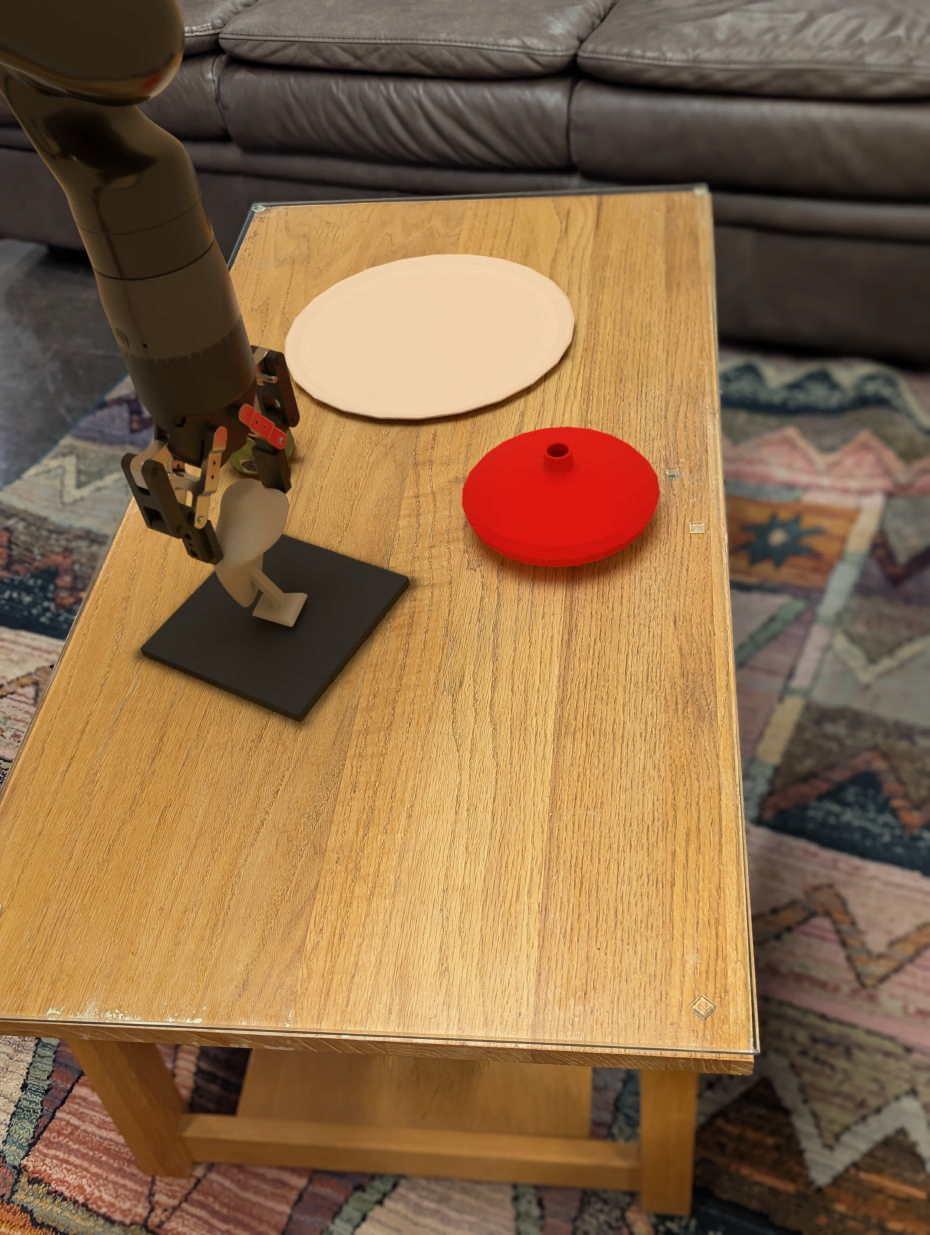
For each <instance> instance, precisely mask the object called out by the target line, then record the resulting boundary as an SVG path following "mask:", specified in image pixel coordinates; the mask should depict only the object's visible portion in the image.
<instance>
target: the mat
mask: <svg viewBox="0 0 930 1235" xmlns="http://www.w3.org/2000/svg"><path fill="white" fill-rule="evenodd" d="M262 573H264V574H265V575H266V576H267V577H268V578H269V579H270V580H271V581H272V582H273V583H274V584H275V585H276V586H277V587H278V588H279V589H280V590H281V591H282V592H283V593H304V594H307V598H306V600H305V602H304V604H303V606H302V608H301V610H300V613H299V615H298V617H297V619H296V621H295V623H294V625H293V626H292V627H290V626H286V625H283V624H279V623H276V622H273V621H269V620H266V619H263V618H259V617H256V616H253V612H254V609H255V608H256V606H257V604H258V602H259V600H260V598H261V596H262V595H263V594H264V593H263V592H262V591H261V590H260V589H259V588H258V592H257V594H256V597H255V599H254V601H253V603H252V604H251V605H250V606H249V607H243V606H241V605H240V604H239V603H238V602H237V601H236V600H235V599H234V598H233V597H232V596H231V595H230V594H229V592H228V591H227V590H226V589H225V587H224V586H223V584H222V583H221V581H220V580H219V578H218V576H217V574H216V572H215V570H213V571H212V572H211V574H210V575H209V576H207V578H206V579H205V580H204V581H203V582H202V583H201V584H200V585H199V586H198V587H197V588H196V590H194V591H193V592H192V594H190V596H189V597H188V598H187V599H186V600H185V601H184V602H183V603H182V604H181V605H180V606H179V607H178V608H177V609H176V610H175V611H174V612H173V613H172V614H171V615H170V616H169V618H167V619H166V620H165V621H164V622H163V623H162V625H160V626H159V627H158V629H157V630H156V631H155V632H154V633H153V634H152V635H151V636H150V637H149V638H148V639H147V641H145V643H143V644H142V645H141V647H140V648H139V650H140V652H141V654H142V655H143V656H144V657H147V658H149V659H152V660H154V661H157V662H159V663H161V664H164V665H166V666H168V667H170V668H173V669H174V670H178V671H180V672H182V673H185V674H187V675H190V676H192V677H195V678H197V679H199V680H200V681H204V682H206V683H209V684H211V685H213V686H215V687H218V688H220V689H222V690H225V691H227V692H230V693H232V694H235V695H236V696H239V697H242V698H243V699H246V700H249V701H251V702H252V703H256V704H258V705H260V706H262V707H264V708H268V709H269V710H272V711H275V712H277V713H279V714H281V715H284V716H286V717H288V718H291V719H293V720H296V721H297V722H301V721H302V720H303V718H304V717H305V716H306V715H307V714H308V713H309V711H310V710H311V708H312V707H313V706H314V705H315V703H316V702H317V701H318V700H319V699H320V697H321V696H322V695H323V694H324V692H325V691H326V690H327V689H328V687H329V686H330V685H331V683H332V682H333V681H334V680H335V678H336V677H337V676H338V675H339V674H340V672H341V671H342V670H343V668H344V667H345V666H346V664H347V663H348V662H349V661H350V660H351V658H353V656H354V655H355V653H356V652H357V651H358V650H359V648H360V647H361V646H362V644H364V643H365V641H366V640H367V638H368V637H369V636H370V635H371V634H372V633H373V630H375V629H376V627H377V626H378V625H379V624H380V622H381V621H382V619H383V618H384V617H385V616H386V615H387V613H388V612H389V611H390V609H391V608H392V607H393V605H395V603H397V601H398V600H399V598H400V597H401V596H402V595H403V593H404V592H405V591H406V589H407V588H408V587H409V585H410V584H411V582H410V578H409V576H406V575H404V574H401V573H399V572H395V571H393V570H389V569H387V568H383V567H380V566H377V565H375V564H371V563H369V562H366V561H363V560H359V559H357V558H354V557H351V556H348V555H345V554H342V553H340V552H336V551H333V550H331V549H328V548H325V547H322V546H318V545H316V544H312V543H310V542H307V541H305V540H304V541H303V540H301V539H298V538H295V537H292V536H290V535H287V534H283V533H282V535H281V536H280V538H279V539H278V540H277V541H276V543H275V544H274V545H273V546H272V547H270V548H269V549H268V550H267V551H266V552H264V553H263V565H262Z"/></svg>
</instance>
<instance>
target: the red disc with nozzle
mask: <svg viewBox="0 0 930 1235" xmlns="http://www.w3.org/2000/svg"><path fill="white" fill-rule="evenodd" d="M461 489H462V490H461V491H462V492H461V507H462V510H463V513H464V515H465V517H466V521H467V523H468V525H469V526H470V527H471V529H472V530H473V532H474V533H475V534H476V536H478V538H479V539H480V540H481V542H482V543H483V544H484V545H485V546H487V547H488V548H489V549H492V550H493V551H495V552H496V553H498V554H499V555H501V556H503V557H505V558H508V559H510V560H513V561H516V562H520V563H522V564H525V565H530V566H531V565H532V566H540V567H548V568H558V567H559V568H560V567H578V566H581V565H585V564H588V563H595V562H597V561H601V560H604V559H606V558H608V557H610V556H612V555H614V554H616V553H619V552H620V551H622V550H624V549H626V548H627V547H628V546H630V545H631V544H632V543H633V542H634V541H636V540H637V539H638V538H640V536H641V535H642V534H643V532H644V531H645V529H646V528H647V527H648V525H649V524H650V523H651V521H652V519H653V517H654V516H655V512H656V511H657V507H658V503H659V500H660V495H661V490H660V483H659V477H658V474H657V473H656V471H655V469H654V468H653V466H652V465H651V463H650V461H649V459H647V458H646V457H645V456H643V454H642V453H640V452H639V451H638V450H637V449H636V448H634V447H633V446H632V445H631V444H629V443H628V442H626V441H625V440H623V439H620V438H618V437H617V436H615V435H613V434H610V433H607V432H603V431H600V430H596V429H592V428H586V427H576V426H575V427H574V426H554V427H543V428H540V429H535V430H531V431H527V432H522V433H520V434H518V435H516V436H513V437H511V438H508V439H506V440H503V441H502V442H500V443H499V444H497V445H496V446H495V447H493V448H492V449H490V450H489V451H487V452H486V453H485V454H484V455H483V457H481V458H480V460H478V462H477V463H475V465H474V467H472V469H471V470H470V471H469V472H468V475H467V477H466V479H465V481H464V484H463V486H462V488H461Z"/></svg>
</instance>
